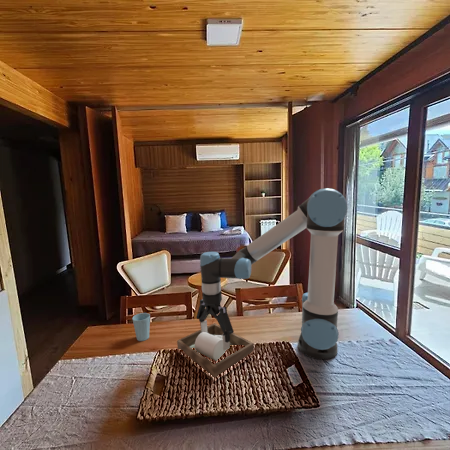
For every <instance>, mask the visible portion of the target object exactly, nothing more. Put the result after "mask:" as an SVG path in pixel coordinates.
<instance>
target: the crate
mask: <svg viewBox="0 0 450 450" xmlns="http://www.w3.org/2000/svg"><path fill="white" fill-rule="evenodd" d="M207 331H208V333H209V334H211V335H214V336H215V335H222V334H223V331H222V329H221V327H220V325H219V324H217V323H216V322H214V323H212V324H210V325H207ZM225 331H226V330H225ZM200 333H201V329H198V330H197V331H194V332H192V333H190V334H188V335H186V336H184V337H181V338H180V339H179V338H178V339H177V340H176V343H177V344H176V345H177V350H178V349H181V350H183V351H184V352H185V353H186V354H187V355H188V356H189V357H190V358H191V359H192V360H193V361H194V362H196V363H197V364H198V365H199V366H201V367H202V368H203V369H204V370H206V371H207V372H208V373H210V374H211V375H212V376H213V377H217V376H218V375H219V374H221V373H222V372H224V371H225V370H227V369H228V368H230V367H231V366H233V365H234V364H236V363H237V362H239V361H240V360H242V359H243V358H244V357H246V356H247V355H248V354H250V353H251V352H252V351H253V350H254V349H255V348H254V342H252V341H250V340H248V339H246V338H245V337H244V338H243V337H242V336H240V335H238V334H236V333H235V332H233V333H231V334H230V341H229V344H230V345H244V346H245V347H243V348H241V349H240V350H238V351H236V352H235V353H233V354H231V355H230V356H228V357H226V358H225V359H223V360H221V361H220V362H218V363H216V364H213V363H212V362H211V361H209V360H208V359H206V358H205V357H203V356H202V355H201V354H199V353H198V352H196V351H195V350H193V349H192V348H195V341H196V338H197V337H198V335H199V334H200Z"/></svg>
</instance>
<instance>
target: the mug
mask: <svg viewBox="0 0 450 450" xmlns="http://www.w3.org/2000/svg"><path fill="white" fill-rule="evenodd" d="M195 350H196V351H197V352H199V353H201V354H203V355H205V356H207V357H209V358H211V359H213V360H215V361H217V360H218V359H219V358H220V357H221V356H222V355H223V354H224V353H225V351H226V350H225V351H224V350H223V339H222V335H215V336H214V335H211V334H209V333H206V332H202V333H200V334H199V335H198V337H197V338H196V341H195Z"/></svg>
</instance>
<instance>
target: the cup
mask: <svg viewBox="0 0 450 450" xmlns="http://www.w3.org/2000/svg"><path fill="white" fill-rule="evenodd" d="M150 319H151V313H147V312H141V313H137V314H135V315H133V317H132V318H131V320H132V324H133V327H134V333H135V336H136V337H135V339H136V340H137V341H138V342H144V341H146V340H149V339H150V329H151V328H150V324H151V320H150Z"/></svg>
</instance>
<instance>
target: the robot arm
mask: <svg viewBox="0 0 450 450" xmlns="http://www.w3.org/2000/svg"><path fill="white" fill-rule="evenodd" d="M347 213H348V203H347V199H346V198H345V196H344V195H343V194H342V193H341V192H340V191H339V190H337V189H334V188H328V187H326V188H320V189H316V191H314V192H313V193H311V195H310V196H309V197H308V198H307V199H306V200H304V201H303V202H302V203H301V204H299V205H298V206H297V209H296V210H295V211H294V212H292V213H291V214H290V215H288V216H287V217H286V218H284V219H283V220H281V221H280V222H279V223H277V224H276V225H274V226H273V227H271V228H269V230H267V231H265V232H264V233H263V234H261V235H260V236H259V237H257V238H256V239H254V240H253V241H252V242H250V243H248V245H246V246H245V247H242V248H241V249H239V250H238V251H237V252H236V253H235V254H234V255H233V256H232V257H225V258H224V257H221V256H220V254H219V252H218V251H206V252H203V253H202V254H200V256H199V257H200V258H199V262H200V263H199V266H200V278H201V291H202V299H200V300H199V307H198V311H197V313H196V319H197V320H199V323H200V330H201V333H202V332H206V333H208V331H207V326H208V320H207V318H208V317H209V315H211V316H213V317H214V320H216V321H217V323H218V325H219V326H220V327H221V329H222V331H223V334H222V339H223V350H224V351H225V350H227V349H229V348H230V344H229V341H230V334H231V333H235V331H234V329H233V326H232V322H231V319H230V317H229V315H228V310H227V306H221V302H222V300H223V297H222V285H221V283H222V282H221V279H239V280H244V279H249V278H250V277H251V274H252V265H254V264H255V263H256V262H258V261H259V260H260V259H262V258H264V257H265V256H266V255H268V254H270V253H271V252H272V251H274V250H275V249H277V248H278V247H280V246H282V245H283V244H285V243H286V242H287V241H289V240H290V239H292V238H293V237H295V236H296V235H298V234H300V233H301V232H302V231H304V230H305V229H306V230H307V231H308V232H309V233H310V248H309V261H308V262H309V264H308V265H309V268H308V284H307V292H305V293H303V294H302V296H301V307H302V309H301V329H300V335H299V337H298V343H297V345H298V346H297V347H298V350H299V351H300V352H301V353H302V354H304V355H305V356H307V357H309V358H313V359H316V360H328V359H329V360H330V359H332V358H335V357H336V356H337V354H338V350H339V349H338V348H339V346H338V340H339V330H338V316H339V308H338V306H337V305H336V304H335V302H334V301H335V288H336V272H337V259H338V243H339V235H340V234H341V233H342V232H343V231H344V227H345V218H346V215H347ZM225 330H226V331H225Z"/></svg>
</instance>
